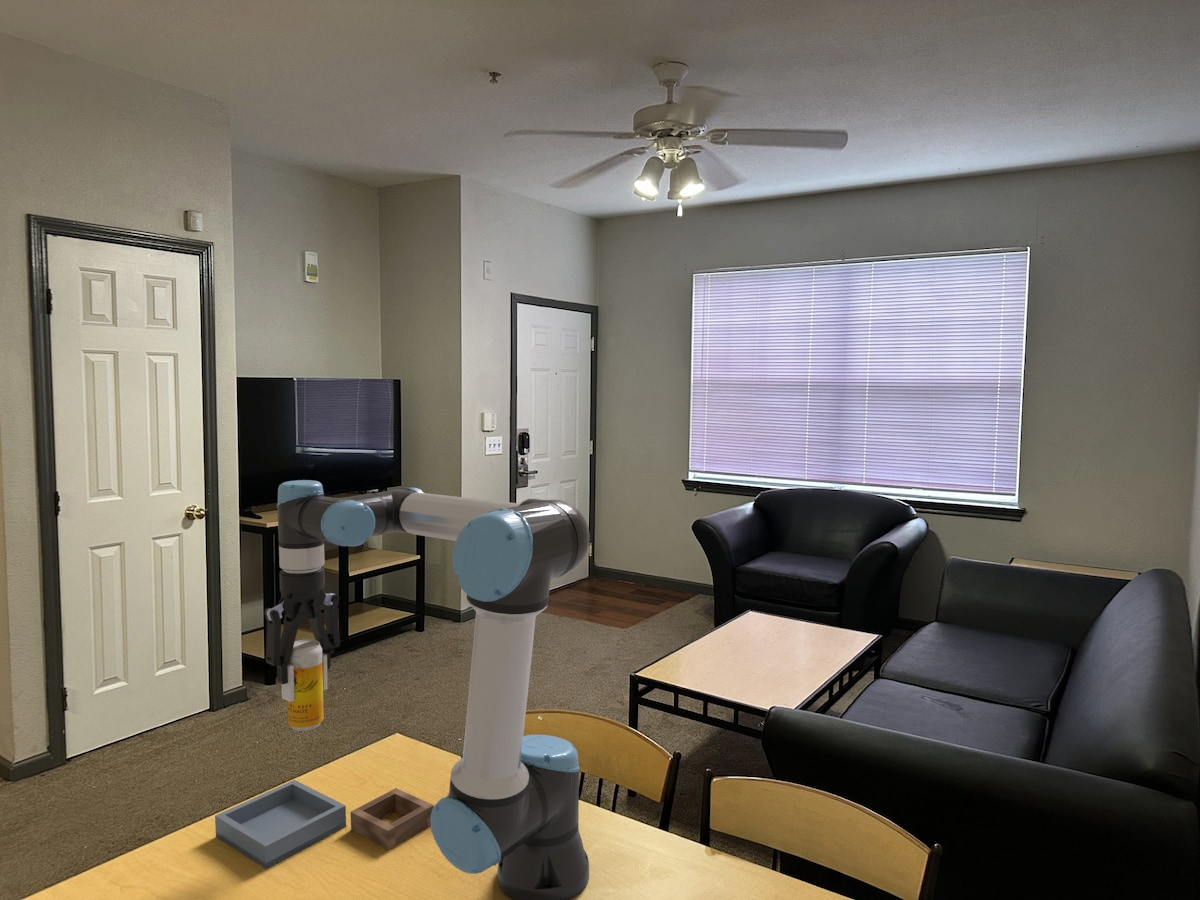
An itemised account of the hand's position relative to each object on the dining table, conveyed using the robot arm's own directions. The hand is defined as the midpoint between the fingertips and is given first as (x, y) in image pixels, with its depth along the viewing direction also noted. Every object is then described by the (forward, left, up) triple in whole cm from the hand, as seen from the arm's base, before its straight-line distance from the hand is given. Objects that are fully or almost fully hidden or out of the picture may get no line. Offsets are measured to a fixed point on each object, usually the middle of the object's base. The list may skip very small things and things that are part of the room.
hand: (305, 693), depth 147 cm
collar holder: (-12, -9, -26) cm, 30 cm away
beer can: (0, 0, -6) cm, 6 cm away
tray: (+3, +4, -26) cm, 26 cm away
